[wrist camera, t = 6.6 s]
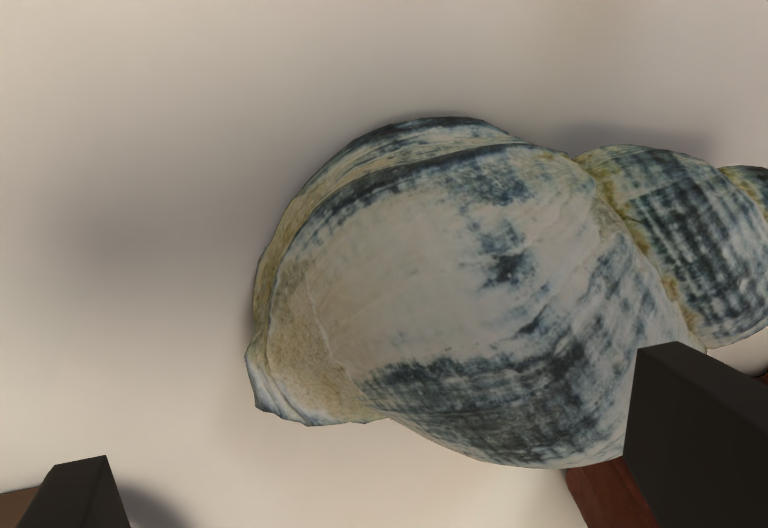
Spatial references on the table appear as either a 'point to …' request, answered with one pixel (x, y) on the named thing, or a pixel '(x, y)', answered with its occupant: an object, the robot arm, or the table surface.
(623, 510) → the wooden figurine
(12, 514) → the button block
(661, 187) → the seashell
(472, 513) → the table surface
